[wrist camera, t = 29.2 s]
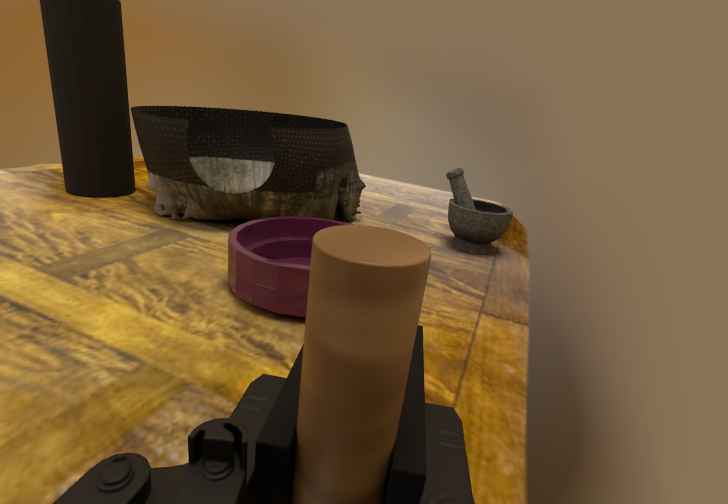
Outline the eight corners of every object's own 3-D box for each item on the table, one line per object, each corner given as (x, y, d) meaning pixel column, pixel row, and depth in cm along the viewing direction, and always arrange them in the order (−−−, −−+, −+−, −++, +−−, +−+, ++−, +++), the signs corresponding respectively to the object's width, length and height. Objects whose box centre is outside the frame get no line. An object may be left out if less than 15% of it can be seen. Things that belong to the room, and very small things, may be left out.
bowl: (399, 278, 49) (406, 236, 47) (346, 343, 35) (353, 285, 33) (283, 248, 54) (285, 208, 52) (192, 293, 40) (190, 241, 38)
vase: (107, 200, 65) (85, -13, 55) (50, 191, 66) (18, -21, 56) (147, 189, 75) (135, 5, 65) (97, 181, 76) (77, -1, 66)
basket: (332, 258, 53) (345, 131, 47) (98, 215, 58) (85, 95, 52) (369, 211, 79) (380, 125, 74) (207, 184, 84) (205, 102, 79)
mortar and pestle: (507, 248, 67) (525, 176, 63) (496, 263, 59) (516, 182, 55) (443, 231, 71) (456, 164, 67) (424, 243, 64) (438, 167, 59)
